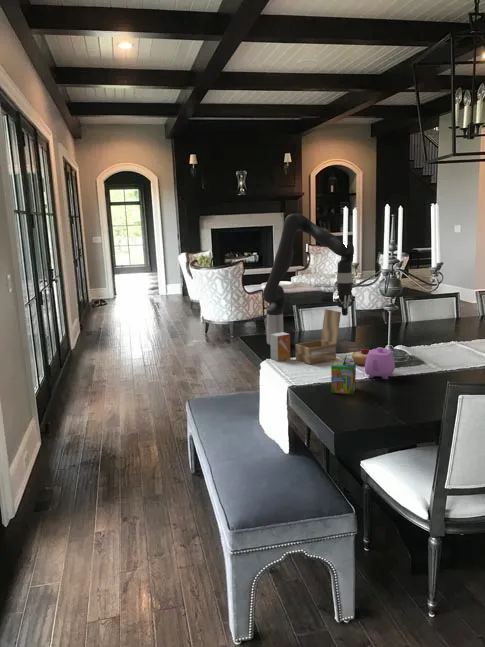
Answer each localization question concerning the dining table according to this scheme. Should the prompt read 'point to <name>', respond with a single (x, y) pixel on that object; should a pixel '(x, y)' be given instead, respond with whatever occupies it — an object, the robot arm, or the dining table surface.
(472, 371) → the dining table surface
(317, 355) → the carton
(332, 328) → the lid
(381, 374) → the teapot
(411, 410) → the dining table surface
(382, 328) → the dining table surface
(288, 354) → the small box
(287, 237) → the robot arm
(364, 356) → the pastry
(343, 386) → the chalk box
